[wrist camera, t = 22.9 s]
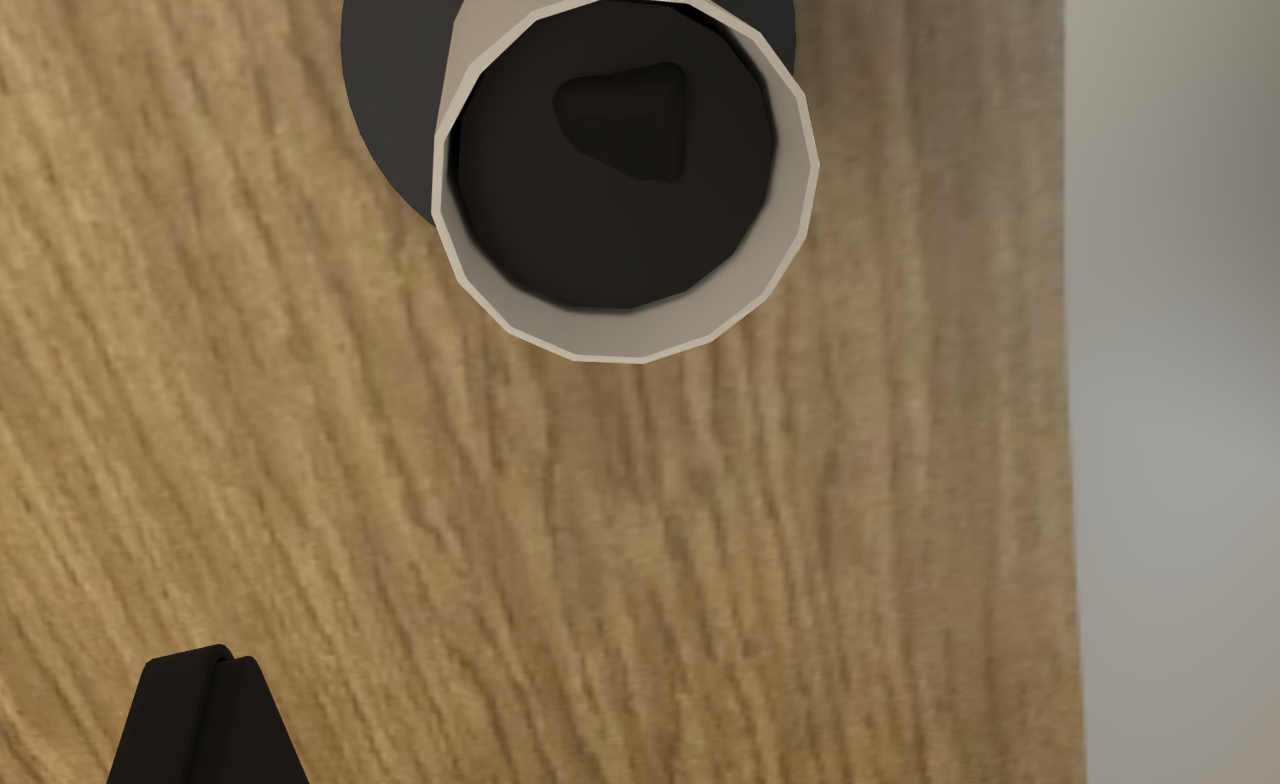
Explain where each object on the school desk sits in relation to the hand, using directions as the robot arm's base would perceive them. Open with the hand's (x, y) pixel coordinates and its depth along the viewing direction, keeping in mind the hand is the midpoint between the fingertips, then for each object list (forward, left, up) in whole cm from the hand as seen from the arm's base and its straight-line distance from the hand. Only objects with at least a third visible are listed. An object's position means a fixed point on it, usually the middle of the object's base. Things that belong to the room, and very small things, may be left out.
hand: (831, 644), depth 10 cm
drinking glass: (0, 0, -22) cm, 22 cm away
